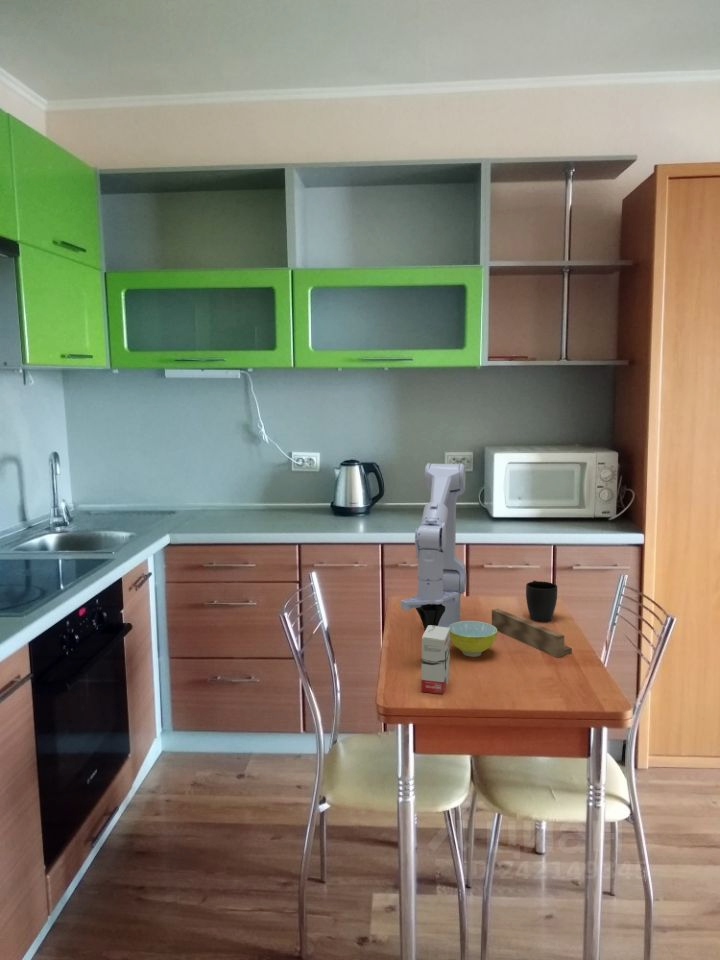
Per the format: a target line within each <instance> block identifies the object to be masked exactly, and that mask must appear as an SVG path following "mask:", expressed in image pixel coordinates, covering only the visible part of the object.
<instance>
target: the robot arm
mask: <svg viewBox="0 0 720 960" xmlns="http://www.w3.org/2000/svg"><path fill="white" fill-rule="evenodd" d="M466 471H467V470H466V465H464V463H432V462H428V463H427V464H426V465H425V469H424V485H425V486H426V488H427V490H428V491H429V493H430V499H429V500H430V501H429V502H427V503H426V504H425V506H424V507H423V512H422V516H421V521H420V525H419V526H417V527H416V528H415V531H414V532H415V533H414V545H415V552H416V553H415V556H416V559H417V595H415V596H411V597H409V598H405V599H401V600H400V609H401V610H403V611H409V610H411V609H415V610H416V611H417V613H418V616H419V618H420V620H421V622H422V626H423V630H424V632H425V630H426V628H427V627H428V625H433V626H439V627H447V628H448V627H449V625H451V624H453V623H455V622H460V621H461V594H464V593H465V592H466V589H467V571H466V567H467V566H466V564H465V562H463V561H462V560H461V559H459V558H458V557H457V556H456V536H457V535H456V530H457V529H456V528H457V527H456V526H457V525H456V524H457V523H456V521H457V500H458V498H459V496H461V495H463V494H465V491H466V477H467V475H466V473H467V472H466Z"/></svg>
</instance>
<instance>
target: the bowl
mask: <svg viewBox="0 0 720 960" xmlns="http://www.w3.org/2000/svg"><path fill="white" fill-rule="evenodd" d="M448 628H450V642H451V643H452V644H453V645H454V646H455V647H456V648H457V649H459V651H461V652H462V654H463V655H464V656H465V657H470V658H476V657H480V656H482V654H483V653H482V652H485V651H487V650H489V648H491V647H492V645H493V644H494V643H495V640H496V638H497V634H498V631H497V629H496V627H494V626H493V625H492V623H491V624H490V623H487V622H485V621H484V622H483V621H478V620H462V621H461V620H460V622H455V623H453V624H451V625H449V627H448Z"/></svg>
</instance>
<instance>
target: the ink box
mask: <svg viewBox="0 0 720 960" xmlns="http://www.w3.org/2000/svg"><path fill="white" fill-rule="evenodd" d="M450 647H451V639H450V628H447V627H439V626H433V625H428V627H427V628H426V630H425V631H424V633H423V634H422V637H421V673H420V674H421V676H420V677H421V679H420V683H421V684H420V692H421V693H430V694H438V695H439V694H440V695H444V693H445V691H446V688H447V685H448V683H449V680H450V655H451V654H450V651H451V648H450Z"/></svg>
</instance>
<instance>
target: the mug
mask: <svg viewBox="0 0 720 960" xmlns="http://www.w3.org/2000/svg"><path fill="white" fill-rule="evenodd" d="M525 597H526V598H525V599H526V605H527V610H528V613H529V616H530V620H532V621H533V622H537V623H547V622H551V621H552V619H553V615H554V612H555V610H556V606H557V601H558V600H557V599H558V585H557V584H555V583H553V582H549V581H539V580H532V581H530V582H527V583H526V586H525Z"/></svg>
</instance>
